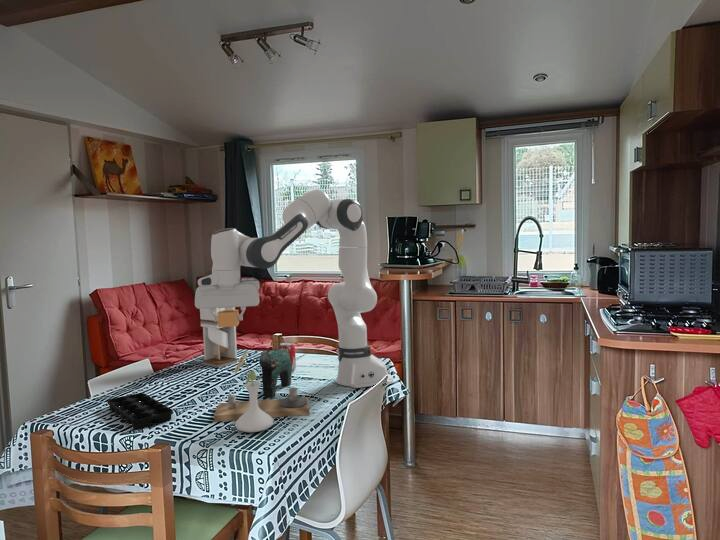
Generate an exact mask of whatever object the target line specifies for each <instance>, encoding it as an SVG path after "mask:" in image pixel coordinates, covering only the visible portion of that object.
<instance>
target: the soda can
mask: <svg viewBox="0 0 720 540" xmlns="http://www.w3.org/2000/svg"><path fill="white" fill-rule="evenodd" d="M281 345H284V346H285V347H286V350H287V351H288V353H289V355H290V358H291V362H292V373H293V372H294V371H295V370H296V367H297V364H296V359H297V357H296V347H295V345H294V342H291V341H290V342H289V341H287V342H281V343H279V346H281ZM279 349H284V350H285V348H284V347H280V348H279Z"/></svg>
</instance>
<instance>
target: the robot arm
mask: <svg viewBox="0 0 720 540" xmlns="http://www.w3.org/2000/svg"><path fill="white" fill-rule="evenodd" d="M330 199H331V198H330V197H329V195H328V194H327V193H326V192H325V191H323V190H322V189H313V190H310V191H308V192H306V193H304V194H302V195H300V196H298V197H297V198H296V199H294V200H293V201H292V202H291V203H289V204H288V205H287V206H286V207H285V208H284V209H283V211H282V221H283V225H281V226H280V227H279V228H278V229H276V231H275V232H273V233H272V234H270V235H269V236H268V235H267V236H262V237H251V236H248V235H245V234H244V233H242V232H240V231H238V230H237V228H234V227H227V228H221V229H218V230H216V231H214V232H213V233H212V234H211V241H210V255H211V256H210V257H211V260H212V267H211V274H207V275H206V276H203V277H200V278H199V279H198V280H197V285H198V286H197V288H196V289H195V295H194V306H195V308H196V309H198V310H200V309H203V308H210V312H211V314H212V315H213V317H214V322H218V316H217V315H216V314H215V312H214V311H215V308H225V307H235V308H240V311H241V312H240V313H239V315H238V321H239V322H241V321H243V320H244V318H243V317H244V316H243V315H244V314H245V311H246V310H247V307H257V306H258V305H259V304H260V295H259V290H260V281H259V280H258V279H257V278H255V277H241V266H243V267H251V268H257V269H262V270H266V269H267V270H268V269H270V268H272V267H274V266H275V264H277V262H278V261H279V259H280V258H281V257H280V256H282V254H283V252H284V251H285V250H286V249H287V248H288V247H290V246H291V245H292V244H293V243H294V242H295V241H297V240H298V239H299V238H300V236H302V235H303V234H304V233H305V232H306V231H307V230H308V229H310V228H312V227H313V226H314V225H316V226H318V227H320V228H322V229H327V230H329V229H331V230H337V231H338V234H339V239H338V241H339V242H338V269H339V271H341V274H342V277H343V278H342V279H343V281H341V282H337V283H334V284H333V285H331V286H330V287H329V289H328V292H327V299H328V301H329V303H330V304H331V306H332V309H333V312H334V314H335V319H336V322H337V323H336V324H337V328H338V331H337V332H338V347H337V360H338V368H337V369H338V370H337V375H336V376H337V377H336V378H335V379H336V380H335V383H336V384H338V385H340V386H345V387H350V388H353V389H354V388H355V389H360V388H366V387H367V388H368V387H374V386H373V385H375V384H376V383H377V382H378V381H379V380H380V379H381V378H383V377H384V376H385V375H387V376H388V379H387V383H386V384H385V385H390V384H393V383H394V376H393V375H391V373H388V369H387V366H386V364H385V363H384V362H383V361H382V360H381V359H379V358H378V357H377V356H375V355H374V353H376V352H375V351H376V350H375V348H374V347H373V346H371V345H370V344H368V333H367V332H368V331H367V330H368V329H367V324H366V323H365V321H364V320H363V317H362V315H361V313H367V312H371V311H372V310H373V309H375V307H376V306H377V302H378V295H377V294H378V293H377V292H376V291H375V289H374V287H373V285H372V284H371V280H370V277H369V272H368V236H367V235H368V233H367V228H366V224H365V222H364V221H363V215H364V214H363V209H362V206H361V203H359V202H358V201H357V200H355V199H352V198H336V199H331V200H330Z"/></svg>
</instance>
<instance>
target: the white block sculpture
mask: <svg viewBox="0 0 720 540" xmlns="http://www.w3.org/2000/svg"><path fill="white" fill-rule="evenodd" d="M221 310H236V307H225V308H215V311H214V312H215V314H216V315H217V313H218V312H219V311H221ZM199 313H200V314H199V316H200V327H202V335H203V336H202V337H203V352H204V353H203V354H204V356H203V357H204V359H203V360H202V365H203V366H208V367H213V368H217V369H220V368H224V367H226V366H230V365H233V364H236V363H237V364H238V351H237V350H238V348H237V326H233V327H218V322H214V317H213V315H212V314H211V312H210V308H203V309H199Z"/></svg>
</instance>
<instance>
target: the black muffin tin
mask: <svg viewBox="0 0 720 540" xmlns="http://www.w3.org/2000/svg"><path fill="white" fill-rule="evenodd" d="M139 401H141V402H139ZM106 402H107V405H108V407H109V411H111V412H112V411H115V412H114V414H115V415H116V414H117V415H116V416H118V415H120V416H119V417H121V418H122V419H126V420H125V423H126V422H127V423H128V424H127V423H126V424H127V425H129V424H132V425H131V428H132V427H133V428H132V429H133V430H142V429H146V428H149V427H151V426H152V424H151V423H153V424H156V423H157V424H156V425H160V424H159V423H161V424H164V423H167V422H166V421H168V422H170V421H171V420H172V415H173V414H174V409H172V408H170V407H169V406H167V405H165V404H163V403H161V402H160V401H158V400H156V399H155V398H153V397H152V396H149V395H148V394H146V393H144V392H139V393H131V394H127V395H124V396H123V395H122V396H118V397H113V398H109V399H108V400H107V401H106ZM119 406H120V407H119ZM125 409H128V410H125ZM132 413H134V414H132ZM139 417H140V418H139ZM121 418H120V419H121ZM122 419H121V420H122ZM163 422H164V423H163ZM150 425H151V426H150ZM148 426H149V427H148ZM145 427H146V428H145ZM141 428H142V429H141Z"/></svg>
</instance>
